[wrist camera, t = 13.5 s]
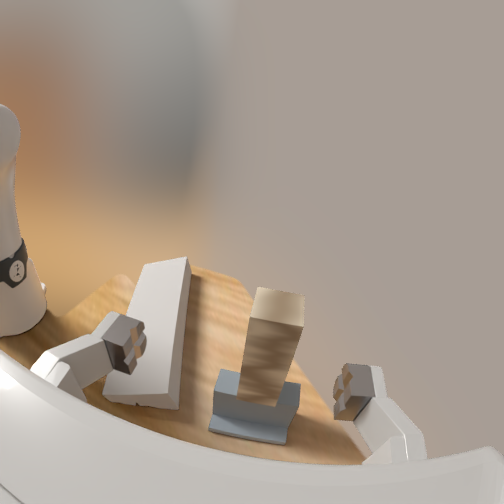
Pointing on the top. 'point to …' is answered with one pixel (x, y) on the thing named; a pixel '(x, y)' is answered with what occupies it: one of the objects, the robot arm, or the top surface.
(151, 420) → the top surface
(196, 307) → the top surface
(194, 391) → the top surface
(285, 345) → the ash post
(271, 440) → the ridge block
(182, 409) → the top surface
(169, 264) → the decorative molding
